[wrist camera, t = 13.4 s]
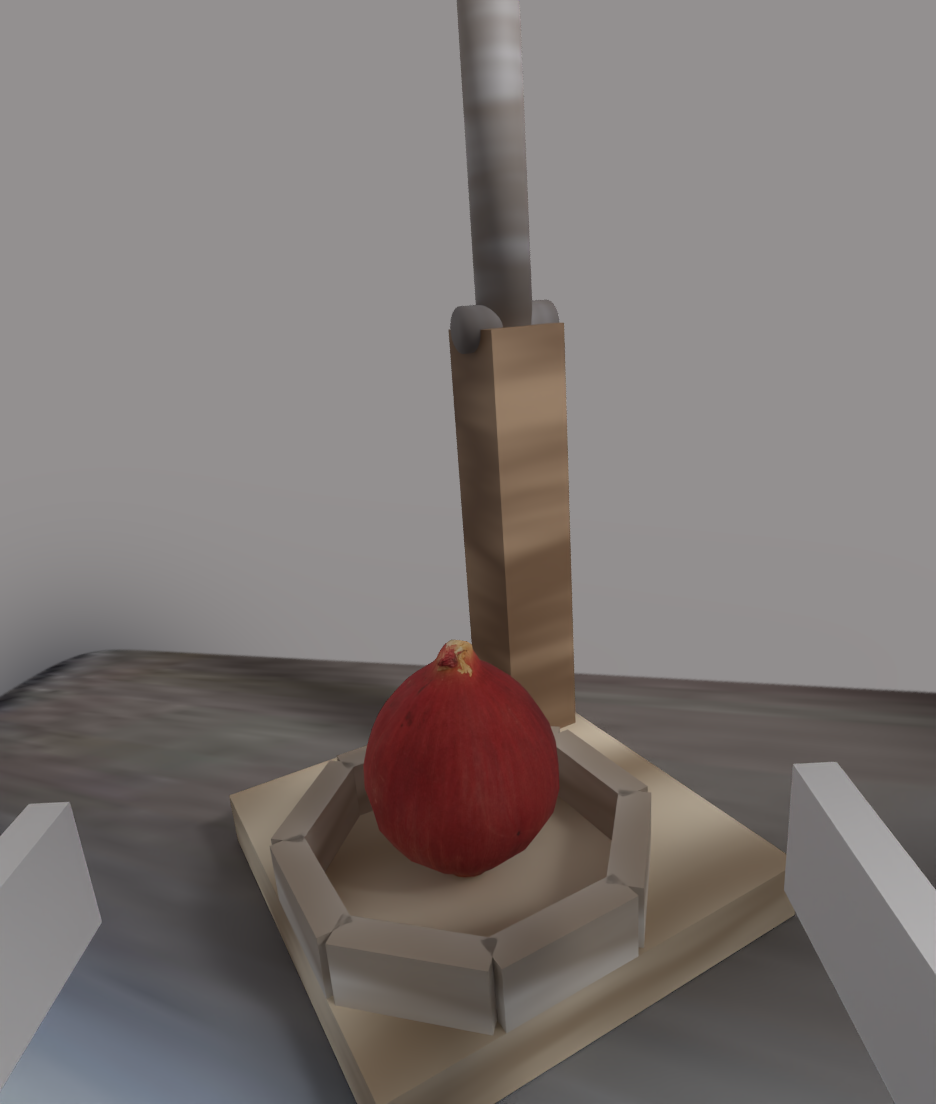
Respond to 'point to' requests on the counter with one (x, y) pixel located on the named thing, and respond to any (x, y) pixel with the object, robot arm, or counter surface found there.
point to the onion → (461, 765)
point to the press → (583, 749)
